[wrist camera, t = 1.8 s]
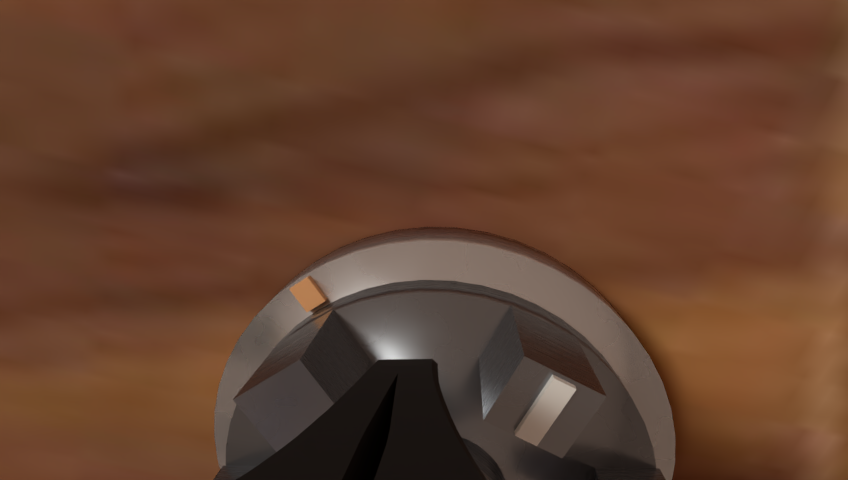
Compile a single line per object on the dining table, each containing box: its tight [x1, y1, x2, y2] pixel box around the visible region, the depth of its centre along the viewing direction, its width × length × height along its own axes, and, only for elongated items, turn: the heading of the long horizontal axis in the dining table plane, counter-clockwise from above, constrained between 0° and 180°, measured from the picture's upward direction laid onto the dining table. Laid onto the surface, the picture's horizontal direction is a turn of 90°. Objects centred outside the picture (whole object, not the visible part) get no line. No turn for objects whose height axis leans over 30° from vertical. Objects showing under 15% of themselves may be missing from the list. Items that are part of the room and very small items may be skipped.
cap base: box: [215, 227, 675, 480], centre depth 18 cm, size 17×17×2 cm
